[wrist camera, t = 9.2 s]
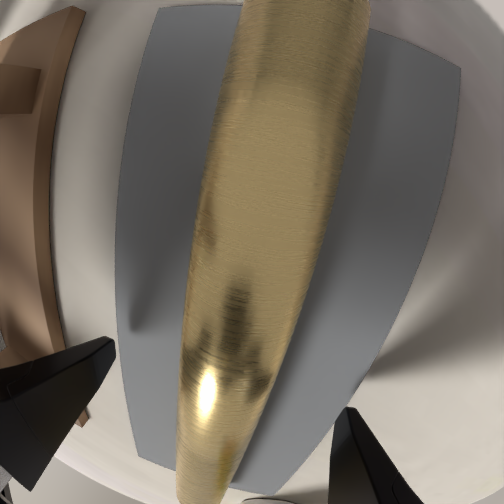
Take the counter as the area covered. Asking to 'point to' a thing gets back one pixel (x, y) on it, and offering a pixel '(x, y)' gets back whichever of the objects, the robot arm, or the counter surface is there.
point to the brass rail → (261, 221)
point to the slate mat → (332, 249)
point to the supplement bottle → (265, 501)
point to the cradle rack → (30, 184)
